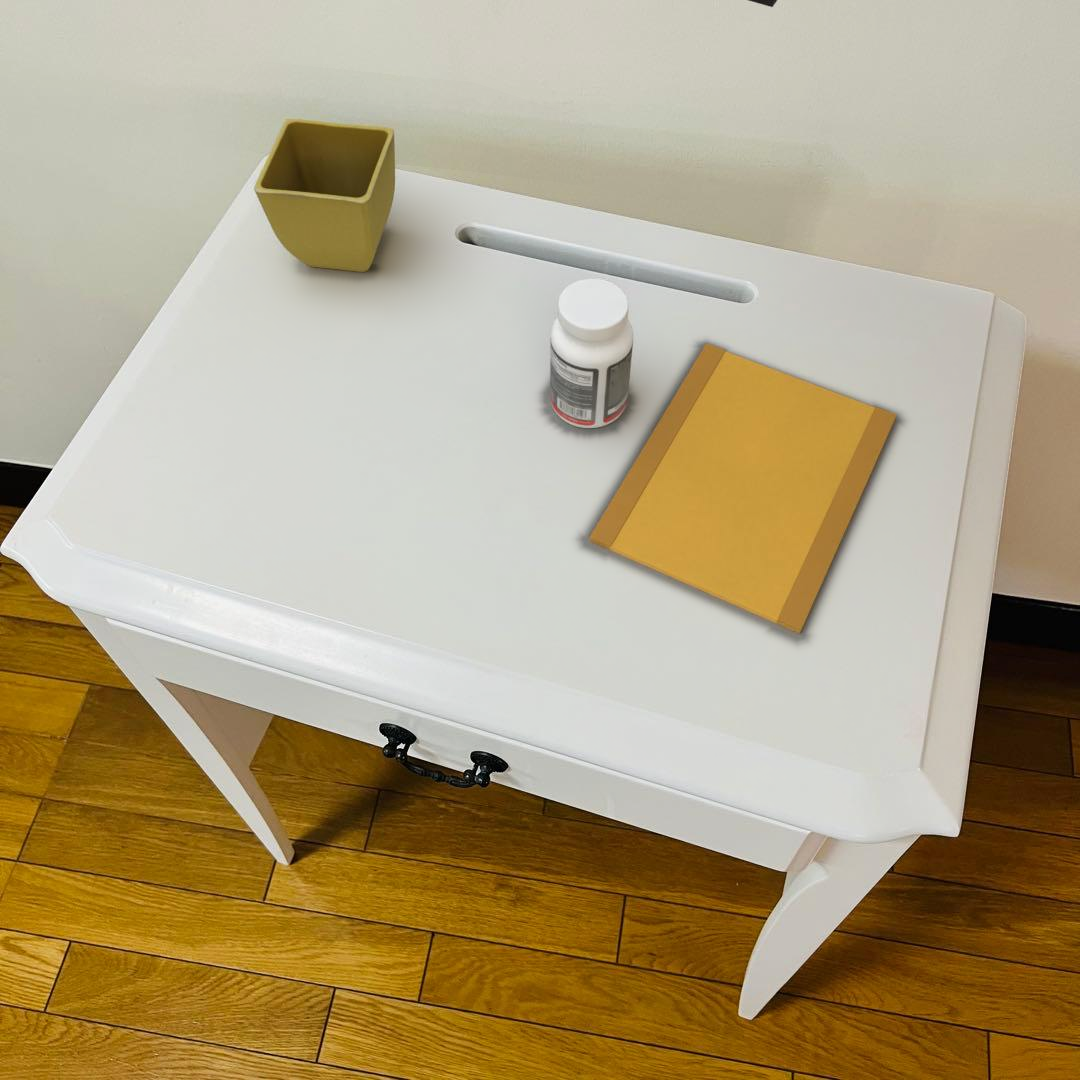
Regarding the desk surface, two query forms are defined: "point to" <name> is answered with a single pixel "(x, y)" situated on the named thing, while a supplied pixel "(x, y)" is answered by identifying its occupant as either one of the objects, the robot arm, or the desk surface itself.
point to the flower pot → (329, 191)
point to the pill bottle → (590, 354)
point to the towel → (747, 485)
